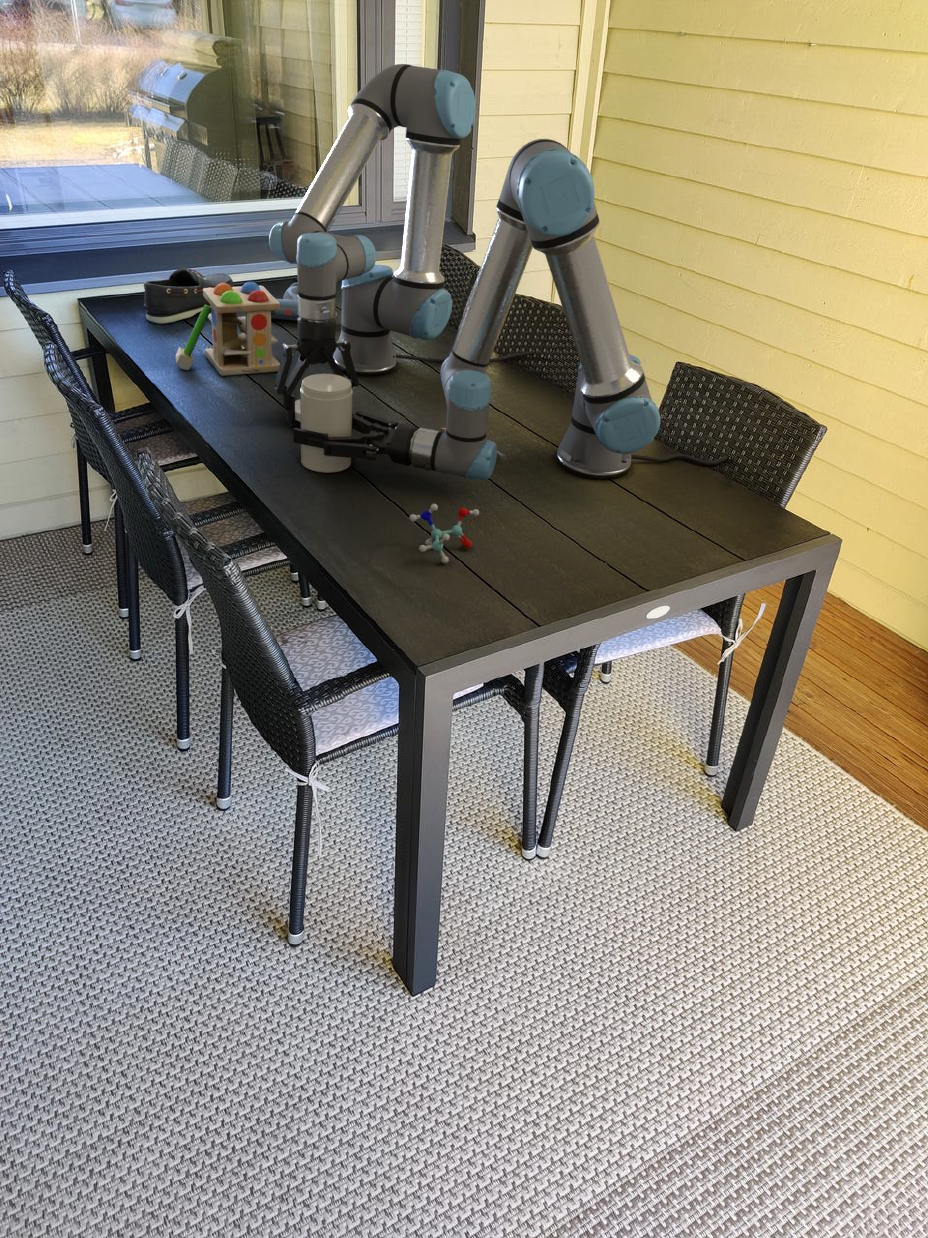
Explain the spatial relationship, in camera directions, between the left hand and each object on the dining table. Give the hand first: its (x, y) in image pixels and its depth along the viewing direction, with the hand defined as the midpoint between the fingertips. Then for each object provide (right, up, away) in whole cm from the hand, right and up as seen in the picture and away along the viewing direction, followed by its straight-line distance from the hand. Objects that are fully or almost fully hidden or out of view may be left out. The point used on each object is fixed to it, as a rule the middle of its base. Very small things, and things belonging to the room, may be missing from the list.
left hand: (316, 421), depth 207 cm
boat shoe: (-42, +42, +55) cm, 81 cm away
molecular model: (+27, -30, -40) cm, 57 cm away
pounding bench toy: (-25, +18, +23) cm, 38 cm away
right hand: (0, -4, -18) cm, 18 cm away
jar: (+4, -11, -15) cm, 19 cm away
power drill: (-12, +41, +60) cm, 74 cm away
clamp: (+32, -7, -5) cm, 33 cm away
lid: (0, +2, -2) cm, 3 cm away
